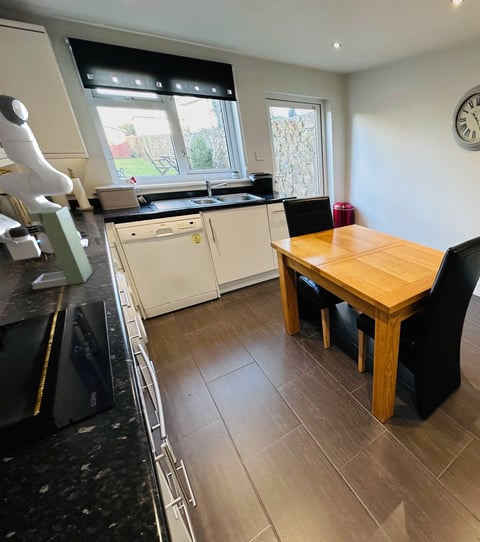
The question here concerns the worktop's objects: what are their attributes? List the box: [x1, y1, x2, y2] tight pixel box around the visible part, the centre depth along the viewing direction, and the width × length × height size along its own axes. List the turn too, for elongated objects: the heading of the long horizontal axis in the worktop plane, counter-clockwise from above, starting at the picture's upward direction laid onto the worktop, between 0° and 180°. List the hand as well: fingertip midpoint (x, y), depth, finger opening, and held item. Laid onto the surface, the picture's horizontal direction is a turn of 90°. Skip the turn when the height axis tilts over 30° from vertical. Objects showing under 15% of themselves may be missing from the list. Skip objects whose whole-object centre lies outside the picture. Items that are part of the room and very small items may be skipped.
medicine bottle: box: [5, 226, 42, 261], centre depth 113 cm, size 7×7×12 cm
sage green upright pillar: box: [27, 206, 93, 291], centre depth 111 cm, size 12×15×29 cm
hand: (22, 240), depth 113 cm, fingers closed on medicine bottle, 8 cm apart
